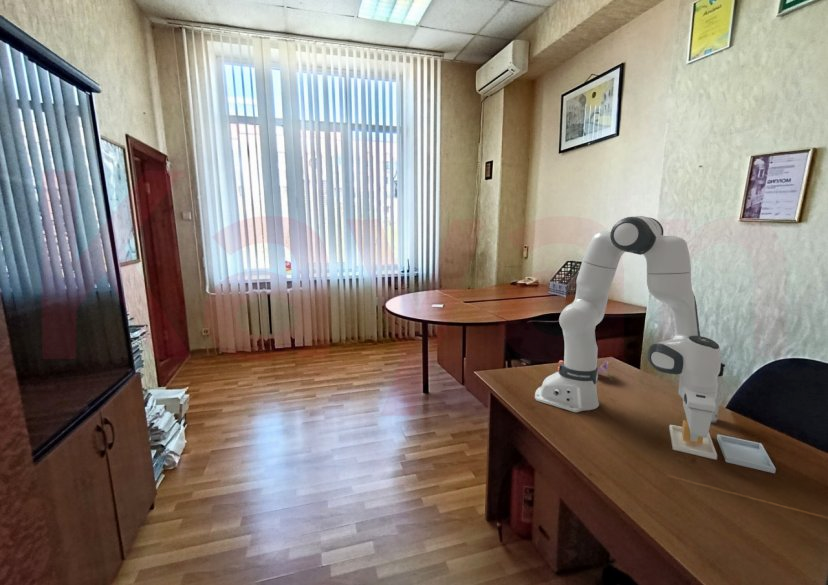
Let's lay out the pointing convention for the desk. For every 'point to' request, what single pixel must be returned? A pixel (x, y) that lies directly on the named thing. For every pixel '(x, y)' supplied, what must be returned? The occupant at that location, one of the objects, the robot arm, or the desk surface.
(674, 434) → the tray white
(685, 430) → the letter cube
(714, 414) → the travel mug
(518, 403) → the desk surface
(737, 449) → the tray bluegrey
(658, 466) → the desk surface
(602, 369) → the lily
